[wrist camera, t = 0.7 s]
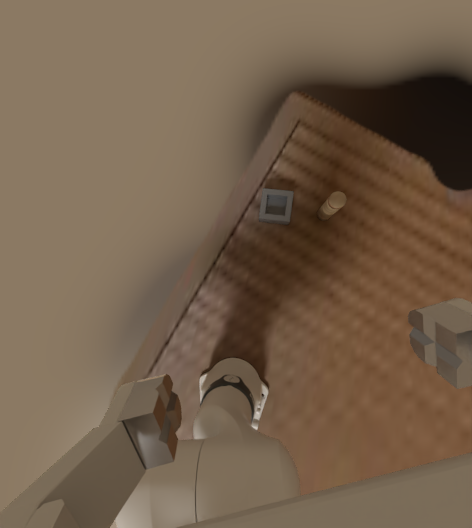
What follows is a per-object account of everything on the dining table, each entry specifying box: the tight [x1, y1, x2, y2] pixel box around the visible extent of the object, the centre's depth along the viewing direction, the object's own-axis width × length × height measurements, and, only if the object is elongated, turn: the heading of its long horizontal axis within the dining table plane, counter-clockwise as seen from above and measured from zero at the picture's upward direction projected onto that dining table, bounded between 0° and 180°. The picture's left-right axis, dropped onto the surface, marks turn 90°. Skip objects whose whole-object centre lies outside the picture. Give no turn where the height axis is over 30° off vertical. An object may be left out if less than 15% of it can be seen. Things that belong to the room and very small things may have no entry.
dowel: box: [317, 191, 346, 221], centre depth 62 cm, size 4×4×13 cm
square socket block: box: [259, 188, 294, 225], centre depth 68 cm, size 8×8×4 cm
